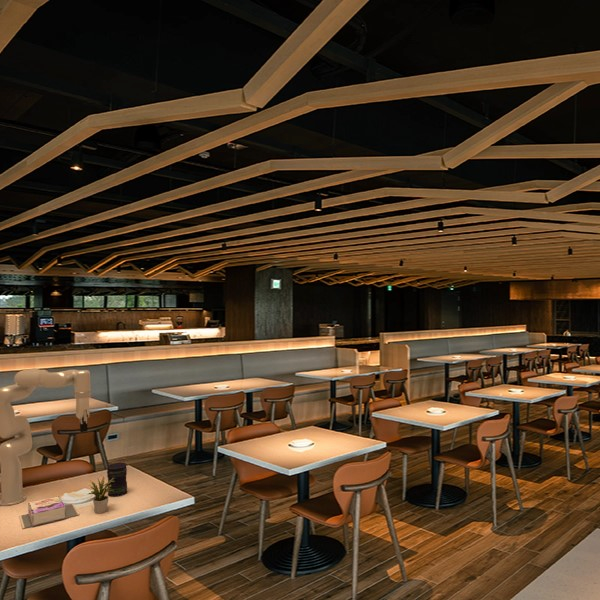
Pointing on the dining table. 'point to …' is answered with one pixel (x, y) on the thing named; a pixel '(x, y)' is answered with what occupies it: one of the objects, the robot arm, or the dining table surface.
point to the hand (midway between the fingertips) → (83, 431)
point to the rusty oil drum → (117, 479)
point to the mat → (69, 512)
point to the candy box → (46, 510)
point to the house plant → (100, 496)
